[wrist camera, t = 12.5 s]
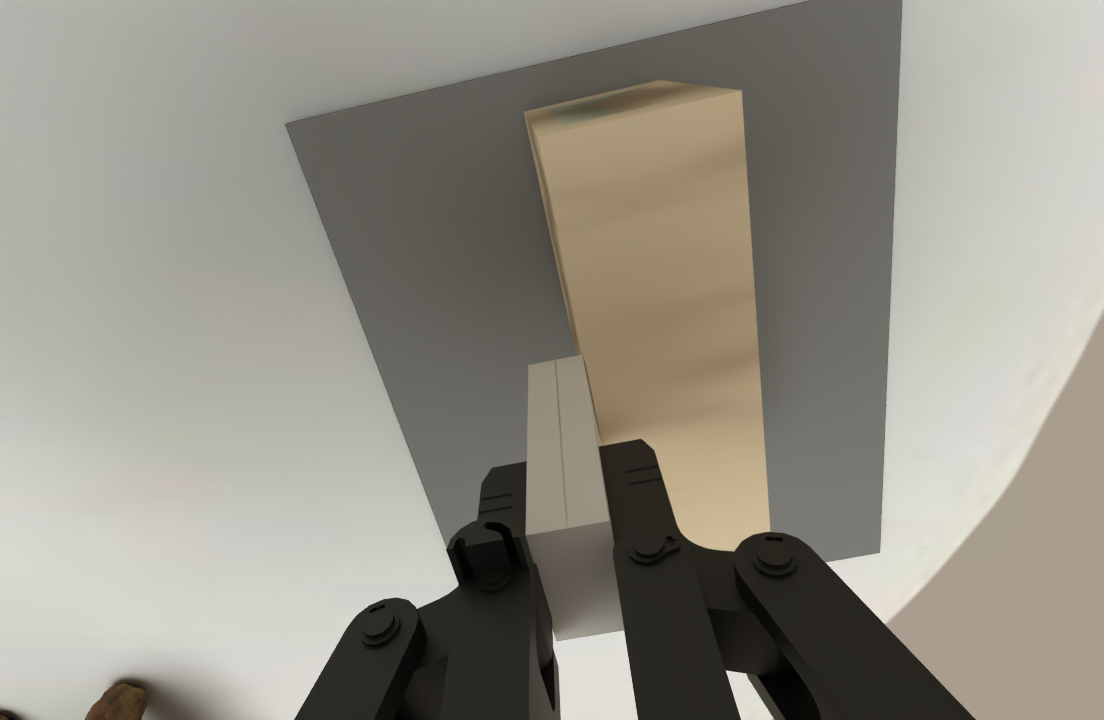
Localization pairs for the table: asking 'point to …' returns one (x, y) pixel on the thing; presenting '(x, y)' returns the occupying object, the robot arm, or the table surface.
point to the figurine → (117, 704)
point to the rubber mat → (532, 276)
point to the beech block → (663, 288)
